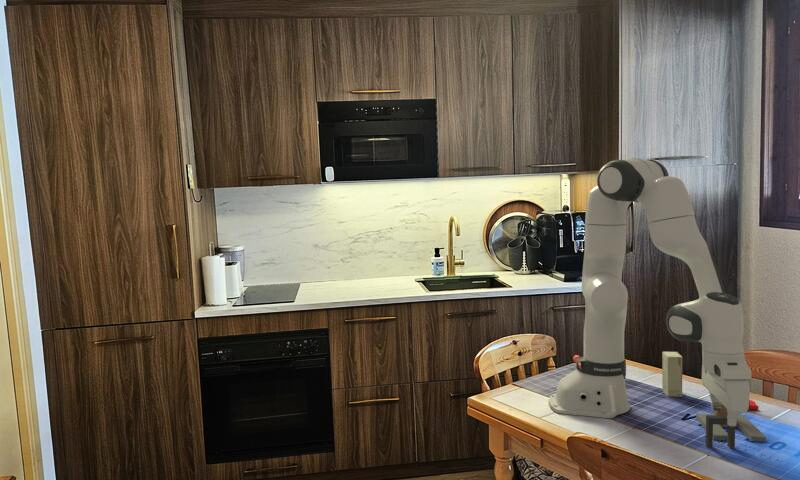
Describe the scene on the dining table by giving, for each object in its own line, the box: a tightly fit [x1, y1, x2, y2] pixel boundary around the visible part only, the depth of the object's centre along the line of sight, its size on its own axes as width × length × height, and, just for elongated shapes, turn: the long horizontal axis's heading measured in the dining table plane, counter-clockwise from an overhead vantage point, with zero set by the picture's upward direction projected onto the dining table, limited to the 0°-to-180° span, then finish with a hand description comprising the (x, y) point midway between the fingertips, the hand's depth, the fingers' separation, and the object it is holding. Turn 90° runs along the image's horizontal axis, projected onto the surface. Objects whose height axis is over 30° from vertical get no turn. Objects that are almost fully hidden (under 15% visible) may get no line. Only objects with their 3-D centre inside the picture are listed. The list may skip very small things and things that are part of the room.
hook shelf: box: [695, 402, 767, 442], centre depth 157 cm, size 12×14×13 cm
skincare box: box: [661, 351, 683, 398], centre depth 184 cm, size 6×4×12 cm
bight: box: [705, 415, 736, 450], centre depth 148 cm, size 6×2×8 cm, turn 81°
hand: (723, 417), depth 147 cm, fingers open, 8 cm apart
